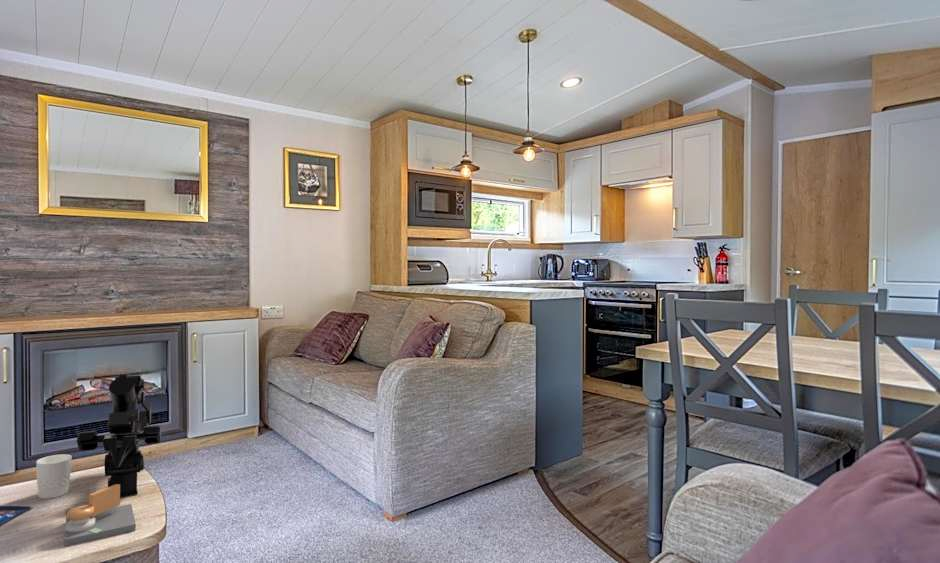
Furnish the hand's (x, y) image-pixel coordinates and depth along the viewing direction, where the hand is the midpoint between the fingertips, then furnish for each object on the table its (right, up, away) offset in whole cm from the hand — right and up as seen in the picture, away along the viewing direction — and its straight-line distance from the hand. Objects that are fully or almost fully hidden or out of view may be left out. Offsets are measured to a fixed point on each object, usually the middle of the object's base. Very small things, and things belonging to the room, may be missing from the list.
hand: (116, 467), depth 137 cm
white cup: (-25, -12, +11) cm, 30 cm away
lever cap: (0, -9, -7) cm, 12 cm away
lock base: (+1, -12, -7) cm, 14 cm away
